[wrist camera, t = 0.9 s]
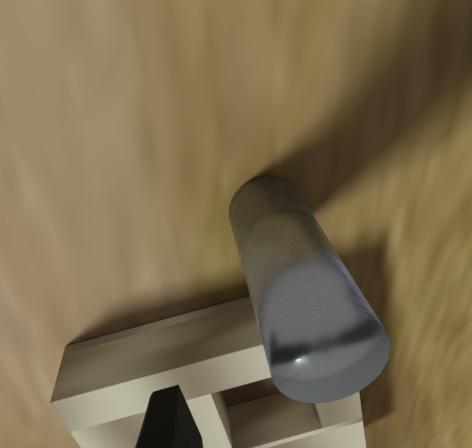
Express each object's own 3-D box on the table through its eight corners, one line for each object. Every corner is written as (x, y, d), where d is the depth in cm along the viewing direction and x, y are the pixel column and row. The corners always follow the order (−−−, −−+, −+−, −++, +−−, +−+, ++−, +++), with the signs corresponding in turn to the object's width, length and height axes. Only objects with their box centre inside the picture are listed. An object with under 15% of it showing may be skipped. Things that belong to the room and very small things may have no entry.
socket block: (326, 275, 20) (350, 320, 17) (349, 434, 26) (370, 486, 23) (65, 346, 19) (50, 402, 17) (151, 489, 26) (149, 547, 23)
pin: (296, 167, 17) (388, 298, 10) (307, 231, 18) (393, 385, 11) (220, 187, 17) (259, 333, 10) (237, 250, 18) (282, 415, 11)
